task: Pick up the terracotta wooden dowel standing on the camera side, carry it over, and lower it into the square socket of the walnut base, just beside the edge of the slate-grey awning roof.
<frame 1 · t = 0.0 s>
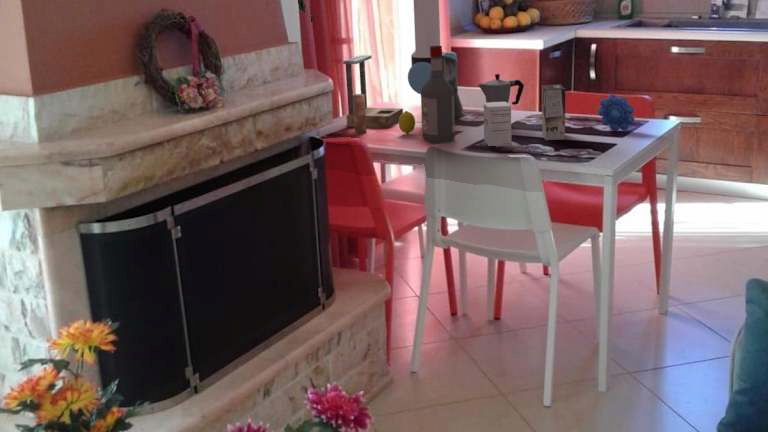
hand: (299, 43, 323), 28 cm above the table, tool pointing down, fingers open, 13 cm apart
coffeepot: (501, 127, 302), on the table
blue flower: (615, 132, 286), on the table
socket awning: (378, 122, 318), on the table
peg: (360, 132, 304), on the table
coffee box: (553, 137, 284), on the table
liquor: (438, 140, 288), on the table
lemon: (407, 135, 298), on the table
supplement box: (497, 144, 279), on the table
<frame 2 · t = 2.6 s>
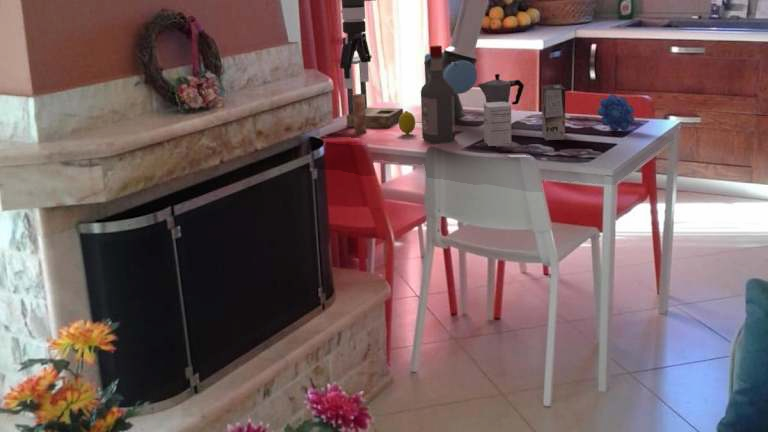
hand: (356, 85, 299), 16 cm above the table, tool pointing down, fingers open, 13 cm apart
nothing on the table moved.
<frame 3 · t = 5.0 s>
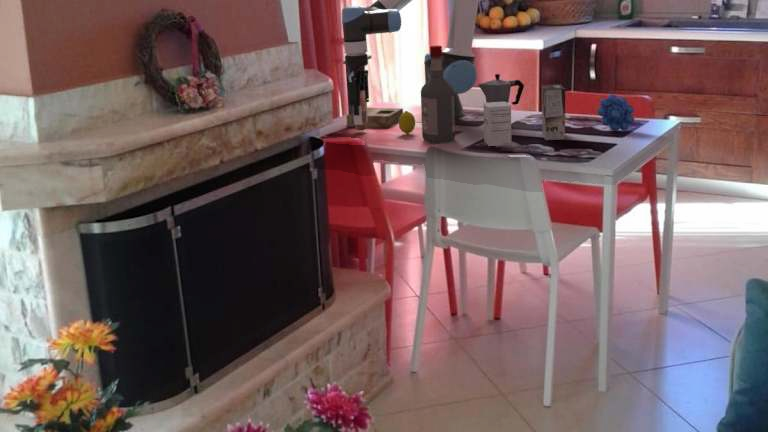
hand: (361, 122, 303), 3 cm above the table, tool pointing down, fingers closed on peg, 4 cm apart
peg: (361, 129, 303), point 1 cm above the table, touching gripper
everything else where it was.
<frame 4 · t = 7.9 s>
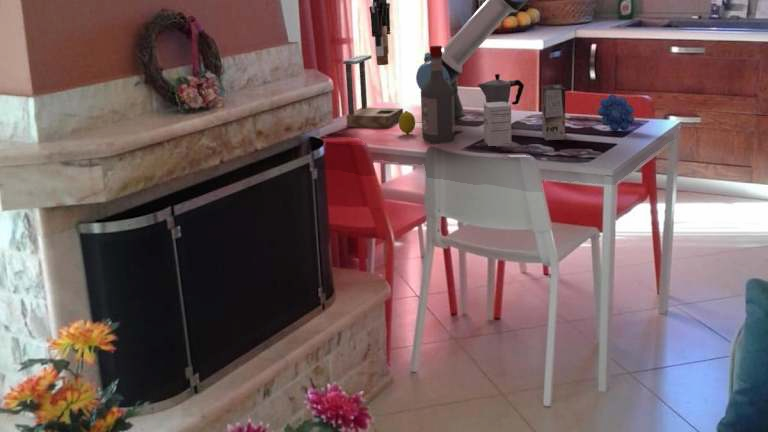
hand: (382, 54, 309), 24 cm above the table, tool pointing down, fingers closed on peg, 4 cm apart
peg: (382, 64, 310), point 21 cm above the table, touching gripper
everything else where it was.
when the fingers open (6 cm above the table, at t = 11.6 s): peg drops 2 cm, resting in socket awning.
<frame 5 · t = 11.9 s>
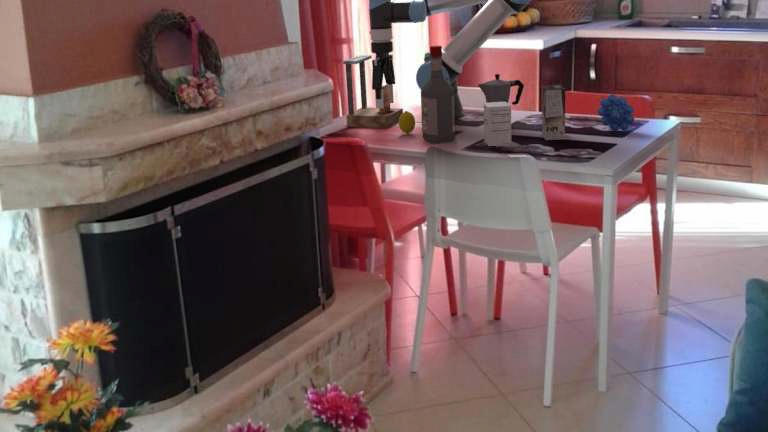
hand: (384, 105, 315), 6 cm above the table, tool pointing down, fingers open, 9 cm apart
peg: (385, 122, 317), resting in socket awning
everything else where it was.
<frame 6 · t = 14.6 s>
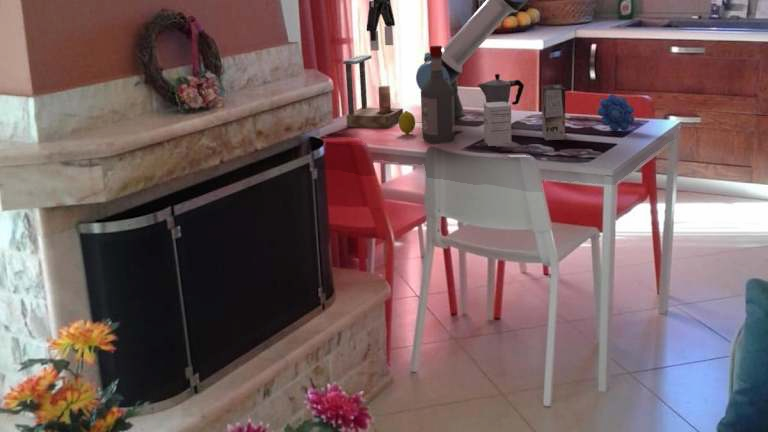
hand: (382, 47, 309), 27 cm above the table, tool pointing down, fingers open, 13 cm apart
nothing on the table moved.
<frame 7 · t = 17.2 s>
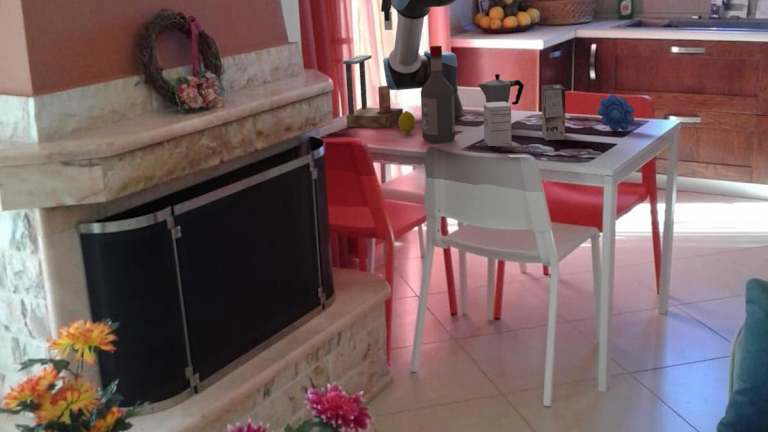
hand: (395, 27, 330), 31 cm above the table, tool pointing down, fingers open, 13 cm apart
nothing on the table moved.
at the end: peg 0.1 cm from the target spot on the socket awning, point 0.0 cm above the socket awning's base; peg tilted 0°; the gripper is holding nothing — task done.
